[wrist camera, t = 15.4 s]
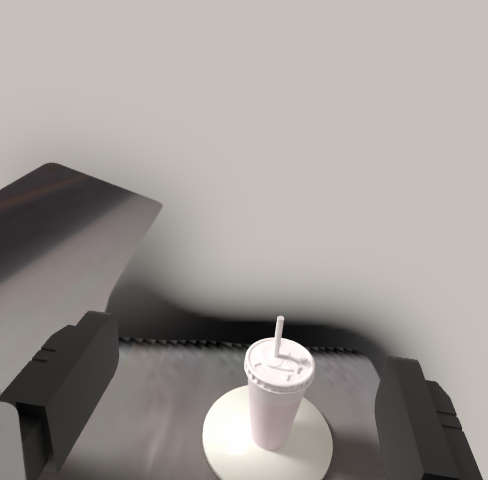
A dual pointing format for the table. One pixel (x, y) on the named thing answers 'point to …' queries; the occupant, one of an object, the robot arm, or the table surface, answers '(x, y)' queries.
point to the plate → (260, 460)
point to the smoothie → (276, 386)
